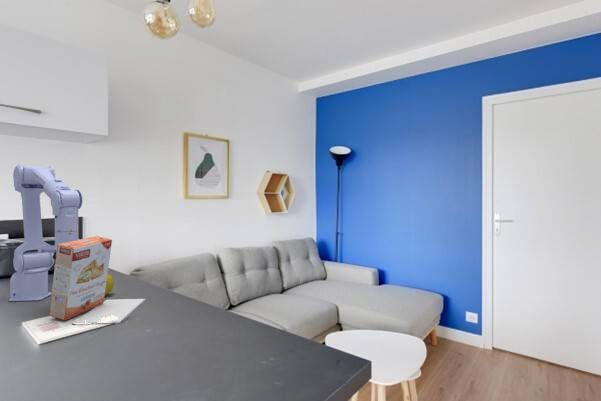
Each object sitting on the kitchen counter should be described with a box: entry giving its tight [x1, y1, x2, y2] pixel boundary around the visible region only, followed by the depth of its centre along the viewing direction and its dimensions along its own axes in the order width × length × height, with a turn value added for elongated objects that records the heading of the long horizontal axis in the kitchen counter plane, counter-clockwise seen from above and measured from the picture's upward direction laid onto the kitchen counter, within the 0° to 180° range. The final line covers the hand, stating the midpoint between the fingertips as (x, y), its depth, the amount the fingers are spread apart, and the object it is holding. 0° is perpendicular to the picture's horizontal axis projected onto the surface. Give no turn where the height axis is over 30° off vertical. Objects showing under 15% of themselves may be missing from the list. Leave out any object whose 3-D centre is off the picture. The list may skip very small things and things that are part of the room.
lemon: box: [105, 273, 115, 297], centre depth 115 cm, size 6×6×8 cm
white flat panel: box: [72, 298, 146, 324], centre depth 100 cm, size 12×20×1 cm, turn 7°
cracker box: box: [48, 235, 113, 321], centre depth 98 cm, size 14×6×21 cm, turn 169°
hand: (66, 277), depth 98 cm, fingers closed
